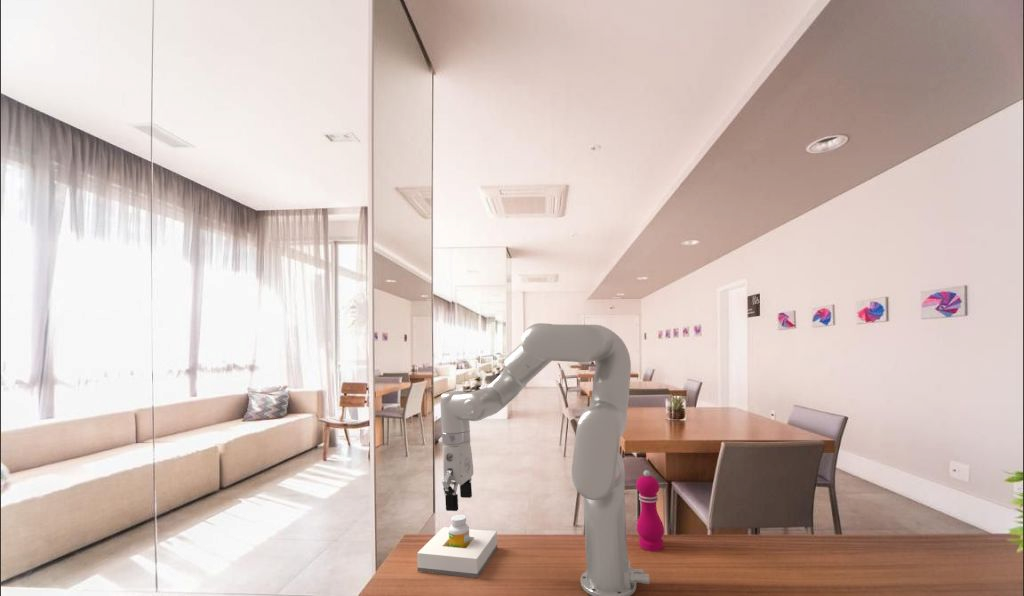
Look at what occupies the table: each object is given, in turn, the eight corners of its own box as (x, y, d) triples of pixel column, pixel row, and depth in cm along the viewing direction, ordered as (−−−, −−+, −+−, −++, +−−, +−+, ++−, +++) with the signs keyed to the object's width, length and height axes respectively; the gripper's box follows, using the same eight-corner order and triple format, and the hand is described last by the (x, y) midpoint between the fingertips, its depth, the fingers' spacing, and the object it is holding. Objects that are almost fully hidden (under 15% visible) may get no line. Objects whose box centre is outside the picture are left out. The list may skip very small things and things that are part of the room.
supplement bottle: (445, 558, 119) (444, 519, 120) (457, 549, 124) (455, 512, 125) (462, 562, 117) (461, 522, 118) (473, 552, 122) (472, 515, 122)
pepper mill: (667, 553, 119) (661, 474, 121) (638, 551, 121) (633, 473, 123) (663, 540, 127) (658, 466, 128) (636, 539, 128) (632, 466, 130)
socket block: (497, 548, 126) (496, 531, 126) (477, 578, 111) (476, 558, 111) (443, 543, 130) (443, 526, 131) (417, 571, 115) (417, 552, 115)
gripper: (456, 445, 114) (460, 516, 112) (480, 431, 130) (483, 493, 129) (429, 445, 116) (432, 515, 114) (455, 431, 132) (458, 492, 131)
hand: (459, 503), depth 121 cm, fingers open, 9 cm apart
